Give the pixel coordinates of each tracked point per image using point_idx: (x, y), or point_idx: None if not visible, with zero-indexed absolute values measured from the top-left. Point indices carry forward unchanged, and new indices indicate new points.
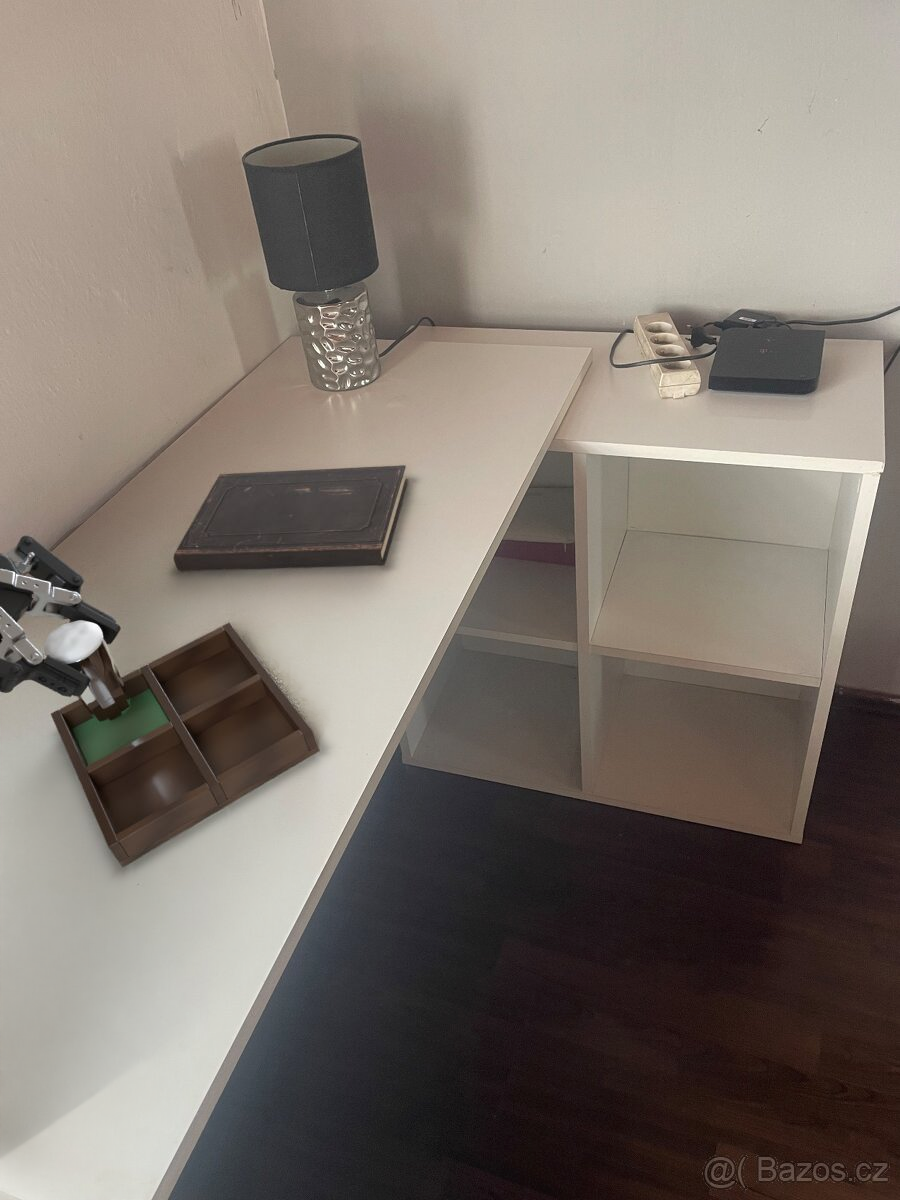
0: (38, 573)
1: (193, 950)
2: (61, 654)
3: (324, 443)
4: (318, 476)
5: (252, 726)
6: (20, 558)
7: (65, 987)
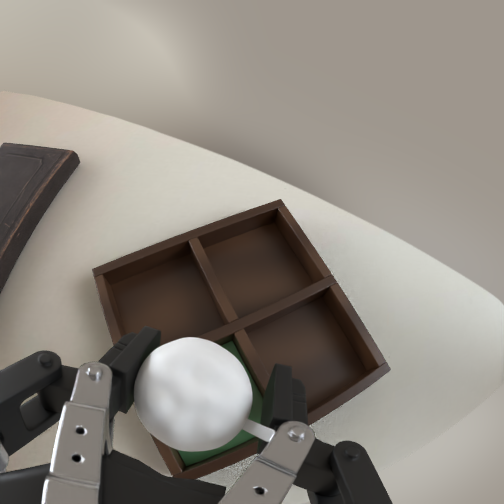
0: (12, 436)
1: (431, 304)
2: (243, 405)
3: None
4: None
5: (238, 265)
6: None
7: (451, 387)
